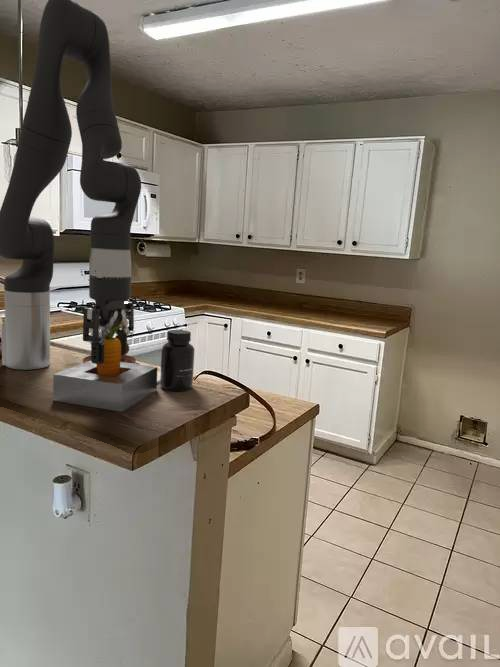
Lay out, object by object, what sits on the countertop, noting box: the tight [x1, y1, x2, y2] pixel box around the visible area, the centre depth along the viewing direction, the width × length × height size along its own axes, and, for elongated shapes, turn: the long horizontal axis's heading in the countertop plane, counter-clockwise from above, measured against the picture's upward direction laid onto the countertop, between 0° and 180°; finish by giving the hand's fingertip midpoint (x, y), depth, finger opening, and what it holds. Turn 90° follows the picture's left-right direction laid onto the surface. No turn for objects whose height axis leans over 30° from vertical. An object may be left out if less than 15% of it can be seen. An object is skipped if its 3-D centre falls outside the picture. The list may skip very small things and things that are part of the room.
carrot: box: [96, 325, 121, 377], centre depth 93 cm, size 5×5×15 cm
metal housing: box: [52, 361, 158, 413], centre depth 94 cm, size 14×14×5 cm
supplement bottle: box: [159, 329, 195, 392], centre depth 102 cm, size 7×7×12 cm
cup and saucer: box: [82, 343, 137, 364], centre depth 115 cm, size 12×12×6 cm
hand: (109, 358), depth 93 cm, fingers open, 8 cm apart
